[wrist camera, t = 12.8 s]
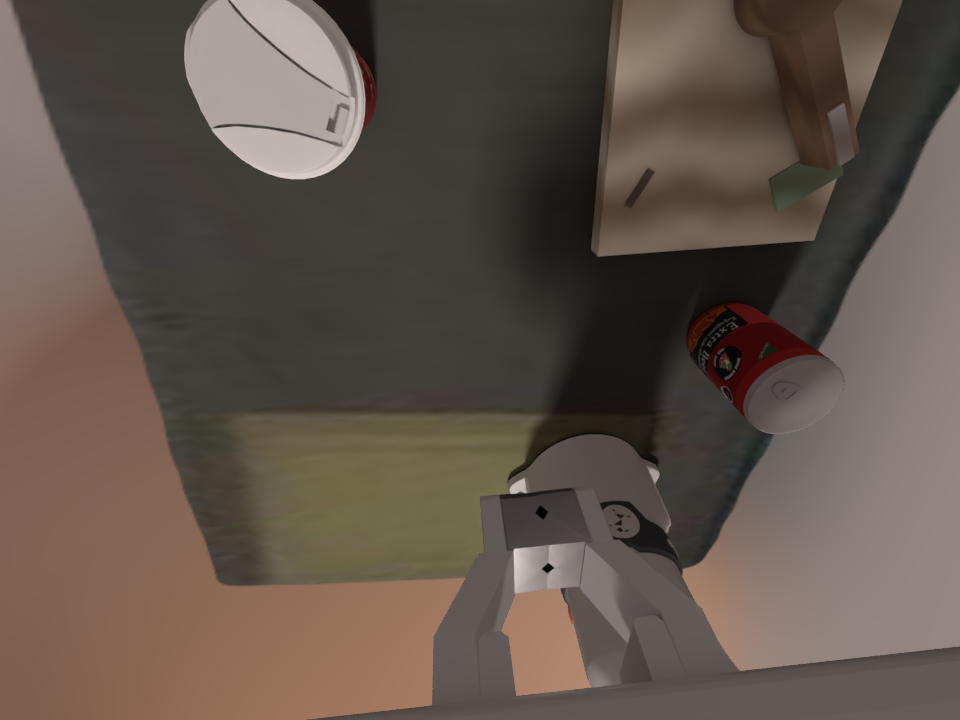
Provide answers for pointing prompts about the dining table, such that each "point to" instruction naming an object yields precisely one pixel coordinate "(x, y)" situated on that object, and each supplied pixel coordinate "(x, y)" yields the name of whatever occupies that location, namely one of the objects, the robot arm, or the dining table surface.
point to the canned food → (764, 368)
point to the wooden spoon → (807, 74)
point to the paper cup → (279, 84)
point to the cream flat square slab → (712, 129)
